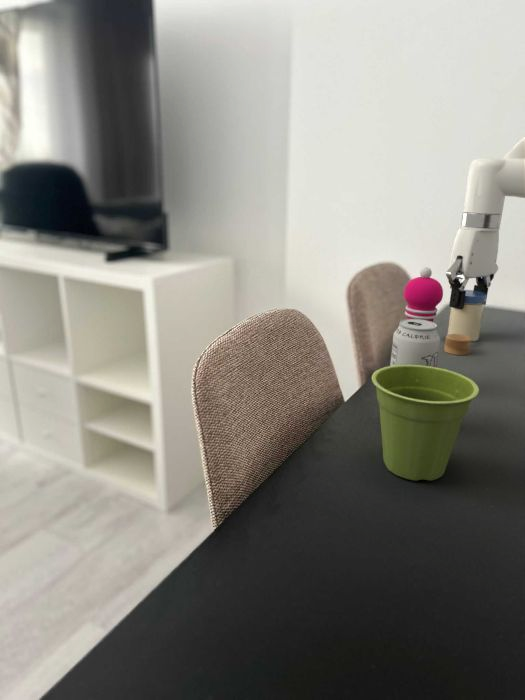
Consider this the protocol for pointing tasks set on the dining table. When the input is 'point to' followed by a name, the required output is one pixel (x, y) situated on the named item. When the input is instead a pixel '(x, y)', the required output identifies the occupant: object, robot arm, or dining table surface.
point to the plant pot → (420, 417)
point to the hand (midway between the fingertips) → (467, 305)
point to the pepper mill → (423, 297)
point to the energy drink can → (415, 343)
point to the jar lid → (474, 297)
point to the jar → (466, 320)
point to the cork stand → (457, 344)
